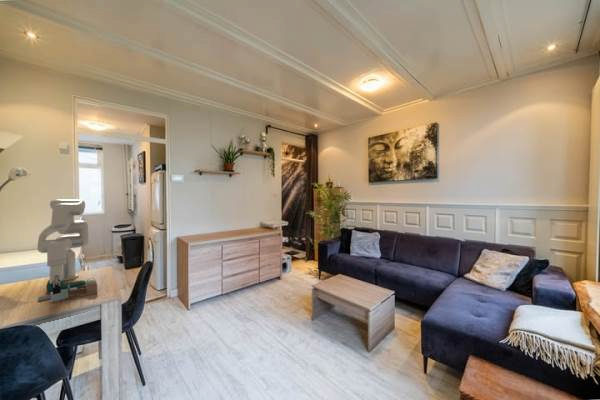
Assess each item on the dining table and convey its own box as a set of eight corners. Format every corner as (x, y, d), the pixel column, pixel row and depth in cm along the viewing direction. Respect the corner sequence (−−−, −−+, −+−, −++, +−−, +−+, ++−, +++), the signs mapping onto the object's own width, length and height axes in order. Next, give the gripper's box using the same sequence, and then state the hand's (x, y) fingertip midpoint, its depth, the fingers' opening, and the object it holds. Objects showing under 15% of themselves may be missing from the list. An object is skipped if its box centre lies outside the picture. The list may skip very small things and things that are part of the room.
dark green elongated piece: (46, 293, 144) (46, 280, 144) (47, 289, 149) (47, 277, 148) (85, 285, 156) (85, 274, 156) (85, 282, 161) (85, 271, 161)
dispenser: (67, 295, 141) (67, 281, 141) (95, 289, 150) (95, 276, 150) (68, 299, 135) (67, 285, 135) (97, 293, 145) (97, 279, 145)
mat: (38, 298, 137) (38, 297, 137) (58, 294, 143) (58, 293, 143) (38, 302, 132) (38, 301, 132) (58, 297, 138) (58, 296, 138)
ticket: (50, 300, 134) (50, 292, 134) (76, 295, 142) (76, 287, 142) (50, 302, 132) (50, 293, 132) (77, 296, 140) (77, 288, 140)
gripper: (47, 260, 137) (47, 288, 138) (46, 266, 126) (46, 297, 126) (65, 258, 143) (65, 285, 143) (66, 264, 131) (66, 293, 131)
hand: (56, 291), depth 134 cm, fingers open, 9 cm apart
